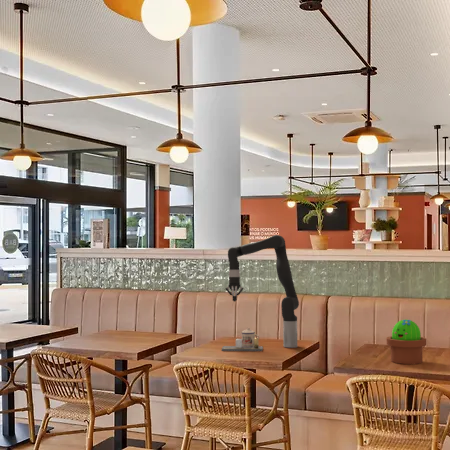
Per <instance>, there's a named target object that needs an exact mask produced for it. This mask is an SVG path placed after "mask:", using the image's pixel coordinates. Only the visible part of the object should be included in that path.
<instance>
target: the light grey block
mask: <svg viewBox="0 0 450 450" xmlns="http://www.w3.org/2000/svg"><path fill="white" fill-rule="evenodd" d="M235 346H236V348H242V346H243V345H242V338H236V339H235Z"/></svg>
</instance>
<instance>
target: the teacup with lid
mask: <svg viewBox="0 0 450 450" xmlns="http://www.w3.org/2000/svg"><path fill="white" fill-rule="evenodd" d="M255 336H256V337H255ZM254 338H258V341H259V339H260V335H258V334H256V331H254V330H252V329H250V327H247V328H246V329H244V330H242V331H241V339H242V346H254Z"/></svg>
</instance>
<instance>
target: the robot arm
mask: <svg viewBox="0 0 450 450" xmlns="http://www.w3.org/2000/svg"><path fill="white" fill-rule="evenodd" d="M268 249H274V253H275V255H276V256H275V257H276V262H275V263H276V264H275V265H276V267H275V268H276V273H277V277H278V280H279V282H280V284H281V285H282V287H283V289H284V291H285V295H286V296H285V297H283V298H282V301H281V316H282V319H283V321H282V323H283V324H282V325H283V327H282V328H283V330H282V331H283V334H282V335H283V338H282V339H283V347H284V348H290V349H291V348H293V349H294V348H298V316H297V315H295V310H297V309H298V308H299V306H300V302H299V297H298V294H297V292H296V288H295V284H294V280H293V275H292V270H291V269H292V268H291V266H290V265H291V264H290V261H289V258H288V254H287V247H286V240H285V238H284V237H283V236H281V235H278V234H275V235H272V236H270V237H267V238H265V239H262V240H258V241H254V242H250V243H245V244H243V245H240V246H235V247H234V246H233V247H230V248H229V249H228V250H227V258H228V263H229V265H228V267H229V268H228V269H229V271H228V286H227V287H225V291H226V292H227V293H228V294H229V296H232V301H233V302H236V301H238V296H240V294H241V293H242V291H243V290H244V287H243V286H241V280H240V279H241V275H240V273H241V272H240V271H241V270H240V262H239V260H238V258H240V257H242V256H246V255H251V254H254V253H258V252H260V251H263V250H268Z"/></svg>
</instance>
